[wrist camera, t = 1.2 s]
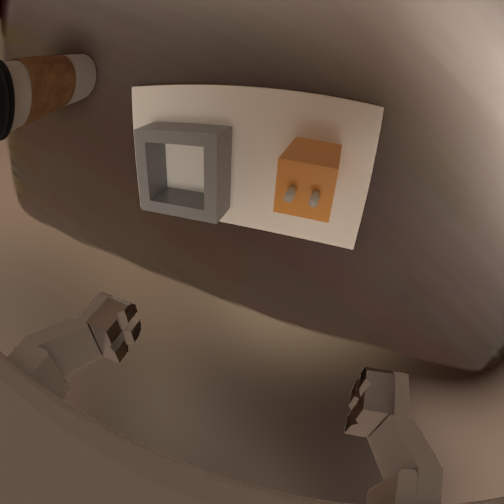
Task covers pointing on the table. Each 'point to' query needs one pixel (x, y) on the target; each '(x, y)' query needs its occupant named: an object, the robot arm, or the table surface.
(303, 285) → the table surface
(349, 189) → the white board with socket
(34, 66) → the coffee cup
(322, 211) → the plug
